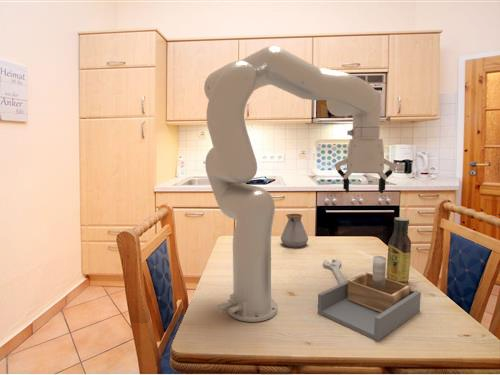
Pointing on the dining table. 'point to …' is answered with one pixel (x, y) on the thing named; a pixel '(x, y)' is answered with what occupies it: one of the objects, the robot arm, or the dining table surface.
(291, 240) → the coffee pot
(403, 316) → the bay
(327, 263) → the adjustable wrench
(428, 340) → the dining table surface
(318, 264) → the dining table surface
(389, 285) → the crate
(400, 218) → the sauce bottle
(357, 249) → the dining table surface
